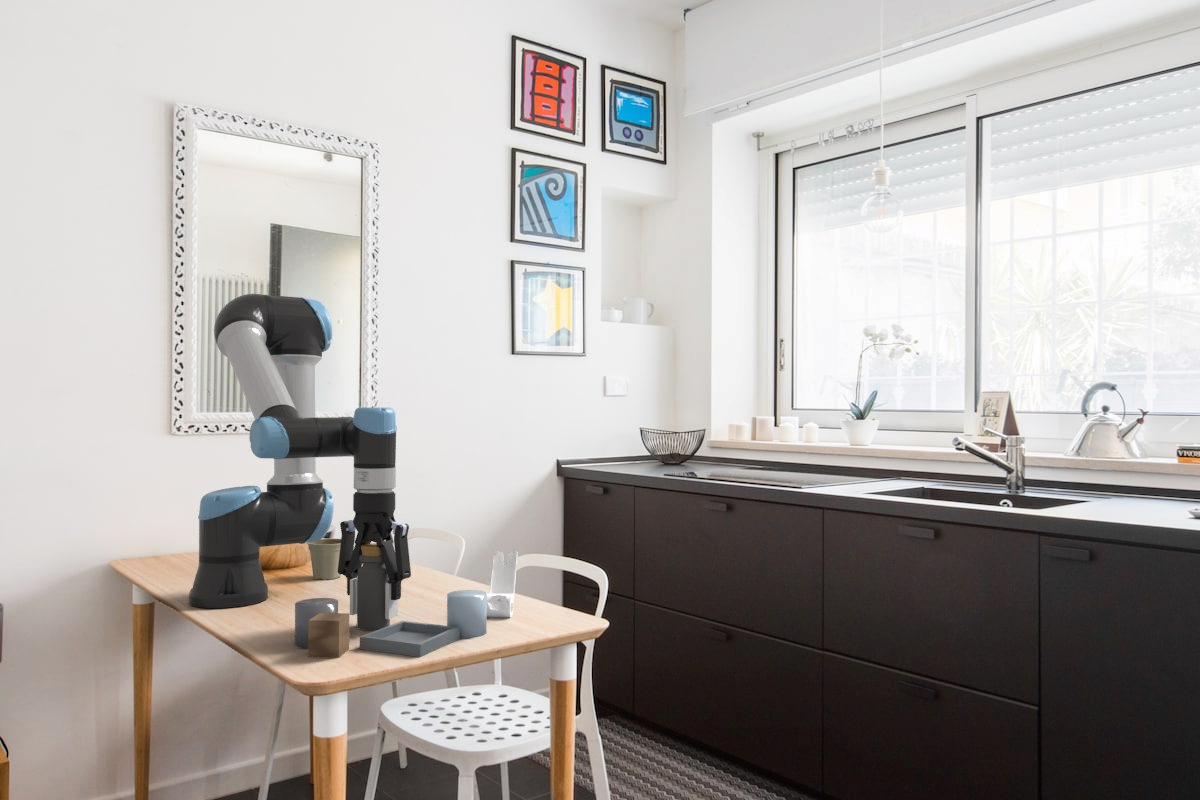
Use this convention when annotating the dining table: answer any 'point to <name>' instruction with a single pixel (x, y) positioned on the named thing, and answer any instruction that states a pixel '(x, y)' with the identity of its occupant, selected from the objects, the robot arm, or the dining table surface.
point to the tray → (410, 638)
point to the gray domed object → (310, 616)
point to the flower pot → (325, 558)
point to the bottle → (371, 589)
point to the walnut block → (328, 635)
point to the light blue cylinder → (467, 612)
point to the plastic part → (502, 586)
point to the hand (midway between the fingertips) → (373, 615)
